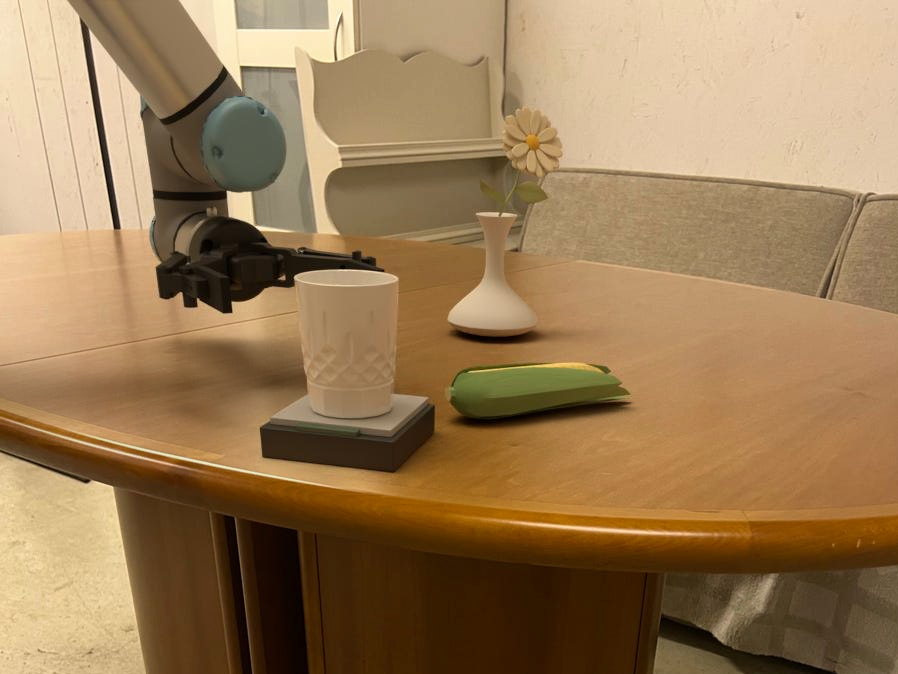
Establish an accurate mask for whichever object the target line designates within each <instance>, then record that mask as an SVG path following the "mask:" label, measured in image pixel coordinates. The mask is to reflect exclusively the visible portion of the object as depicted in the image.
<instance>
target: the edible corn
mask: <svg viewBox="0 0 898 674" xmlns="http://www.w3.org/2000/svg"><path fill="white" fill-rule="evenodd" d="M611 372H612V370H611V369H609V367H608V366H605V365H599V364H594V363H593V364H592V363H584V362H521V363H520V362H519V363H516V362H515V363H514V362H513V363H496V364H495V363H494V364H483V365H476V366H470V367H466V368H462V369H461V370H459V371H458V372H457V373H456V374H455V377H454V378H453V380H452V382H451V385H450V386H448V387H445V389H444V398H445V400H446V402H448V403H450V405H451V406H452V407H453V408H454V409H455V410H456V411H457V412H458V413H459V414H461V415H463V416H465V417H467V418H468V419H478V420H479V419H480V420H494V419H496V420H497V419H502V418H509V417H516V416H521V415H527V414H531V413H537V412H544V411H549V410H550V411H551V410H555V409H561V408H568V407H575V406H581V405H582V406H583V405H590V404H597V403H605V402H611V401H619V400H627V399H629V398H631V396H630V395H631V392H629V390H628V389H626V387H625V388H624V387H623V386H622V387H621V385H622V384H623V381H622V380H620V379H619V378H618V377H616V376H615V375H612V374H610V373H611Z"/></svg>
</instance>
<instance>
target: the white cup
mask: <svg viewBox="0 0 898 674" xmlns="http://www.w3.org/2000/svg"><path fill="white" fill-rule="evenodd" d="M399 279H400V278H399V277H398V276H397V275H395V274H392V273H387V272H385V273H383V272H376V271H366V270H319V271H310V272H304V273H300V274H297V275H296V276H294V283H295V287H294V291H295V301H296V310H297V319H298V320H297V321H298V329H299V339H300V346H301V352H302V362H303V369H304V375H305V377H306V388H307V394H308V399H309V406H310V408H311V409H312V410H313V412H315V413H318V414H320V415H324V416H328V417H334V418H367V417H374V416H379V415H382V414H385V413H387V412H389V411H390V410H391V409H392V407H393V404H394V394H395V379H394V377H395V375H396V367H397V346H398V322H399V321H398V317H399V286H400V285H399V284H400V282H399V281H400V280H399Z"/></svg>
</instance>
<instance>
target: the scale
mask: <svg viewBox="0 0 898 674" xmlns="http://www.w3.org/2000/svg"><path fill="white" fill-rule="evenodd" d="M435 407H436V405H435V404H434V403H433V404H432V403H430V397H428V396H420V395H409V394H399V393H394V404H393V407H392V409H391V410H390V411H389V412H387V413H385V414H382V415H379V416H374V417H367V418H334V417H328V416H324V415H320V414H318V413H315V412H313V410H312V409H311V408H310V406H309V399H308V393H307V394H305V395H304V396H302V397H300V398H299V399H297V400H295V401H294V402H292V403H290V404H288V405H287V406H286V407H283V408H282V409H280V410H279V411H278V412H276V413H273V415H271V416H270V417H269V421H267V422H265V423H264V424H262V425H261V426H259V436H260V445H261V457H263V458H272V459H279V460H288V461H296V462H307V463H315V464H323V465H331V466H332V465H333V466H338V467H339V466H342V467H349V468H357V469H365V470H374V471H382V472H383V471H384V472H391V473H394V472H395V471H396V470H397V469H399V467H401V466H402V464H403V463H405V461H407V459H409V458H410V456H412V454H414V453H415V452H416V451H417V450H418V448H420V446H422V445H423V444H424V443H425V442H426V441H427V440H428V439H429V437H431V436H432V435H433V434H434V433H435V429H436V428H435V421H436V419H435V418H436V413H435V412H436V411H435V410H436V408H435Z"/></svg>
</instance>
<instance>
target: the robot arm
mask: <svg viewBox="0 0 898 674" xmlns="http://www.w3.org/2000/svg"><path fill="white" fill-rule="evenodd" d="M66 1H67V3H68V4H69V5H70V6H71V8H72V9H73V10H74V11H75V13H76V14H77V15H78V17H79V18H80V19H81V21H82V22H83V24H85V25H86V27H87V28H88V29H89V31H90V32H91V33H92V34H93V36H94V37H95V38H96V40H97V41H98V42H99V44H100V45H101V46H102V48H103V49H104V50H105V51H106V53H107V54H108V55H109V57H110V58H111V59H112V60H113V62H114V63H115V64H116V66H117V67H118V69H119V70H120V71H121V72H122V73H123V74H124V76H125V77H126V79H127V80H128V81H129V83H130V84H131V85H132V86H133V88H134V89H135V90H136V92H137V93H138V94H139V100H140V111H139V115H140V119H141V122H142V127H143V134H144V141H145V149H146V154H147V161H148V162H147V163H148V168H149V176H150V182H151V189H152V196H153V197H152V202H153V210H154V216H153V218H152V220H151V222H150V226H149V235H148V236H149V237H148V239H149V243H150V247H151V250H152V252H153V254H154V256H155V257H156V259H157V260H158V261H159V262H160V263H159V264H158V265H156V266H155V274H156V284H157V291H158V297H159V299H161V300H166V301H167V300H171V299H174V298H175V297H176V296H177V295H179V294H180V293H181V295H182V302H183V307H184V308H186V309H195V308H196V309H197V308H198V306H199V305H198V301H200V302H202V303H203V304H205V305H207V306H208V307H211V308H213V309H214V310H216V311H218V312H220V313H221V314H223V315H225V314H227V315H228V314H233V313H234V312H233V311H234V310H233V303H243V302H248V301H251V300H253V299H255V298H256V297H258V296H259V295H260V294H262V292H264V291H265V290H266V289H270V288H272V287H273V288H284V289H285V288H286V289H292V288H295V283H294V276H296V275H297V274H300V273H304V272H310V271H319V270H366V271H376V272H383V273H386V271H385V270H386V269H385V268H382V267H378V266H377V258H376V257H374V256H371V255H368V256H363V254H362V253H363V252H362V250H354V251H351V254H348V253H340V252H333V251H324V250H316V249H313V248H308V247H307V246H301V247H298V248H297V249H295V248H294V247H285V246H273V245H272V244H271V243H269V241H268V239H267V238H266V236H265V235H264V233H262V231H261V230H259V228H257V227H256V226H254V225H253V224H251V223H249V222H247V221H245V220H242V219H238V218H235V217H232V216H230V213H229V203H228V192H231V193H238V194H242V193H252V192H253V193H254V192H259V191H262V190H265V189H266V188H268V187H269V186H271V185H272V184H274V183H275V182H276V180H277V179H278V178H279V176H280V175H281V174H282V172H283V169H284V166H285V164H286V160H287V147H288V146H287V139H286V136H285V135H286V134H285V131H284V128H283V127H282V124H281V121H280V120H279V119H278V117H277V116H276V115H275V113H274V112H273V111H272V110H271V109H270V108H269V107H267V106H266V105H265V104H263V103H261V102H260V101H258V100H255V99H253V97H251V96H246V94H245V93H244V91H243V90H242V88H241V87H240V86H239V84H238V83H237V82H236V80H235V78H234V77H233V76H232V74H231V72H230V71H229V70H228V68H227V67H226V65H224V63H222V61H221V59H220V57H219V56H218V55H217V53H216V52H215V50H214V49H213V47H212V46H211V45H210V43H209V41H208V40H207V39H206V38H205V36H204V35H203V33H202V32H201V30H200V29H199V27H198V25H197V24H196V22H195V21H194V20H193V19H192V17H191V16H190V14H189V13H188V11H187V10H186V8H185V7H184V6H183V4H182V3H181V0H66ZM282 277H284V278H285V279H281V278H282Z"/></svg>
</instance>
